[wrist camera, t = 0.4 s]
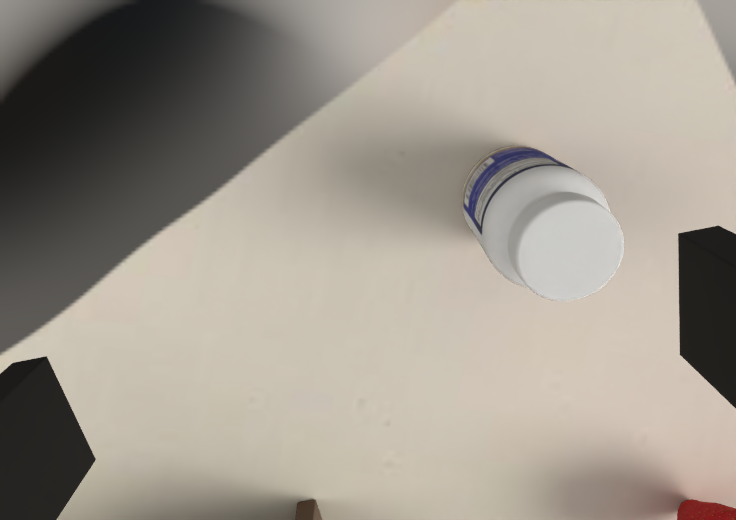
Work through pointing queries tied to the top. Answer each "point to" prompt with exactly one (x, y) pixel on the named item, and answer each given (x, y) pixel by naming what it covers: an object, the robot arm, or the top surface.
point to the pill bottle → (542, 223)
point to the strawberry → (705, 511)
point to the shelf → (308, 511)
